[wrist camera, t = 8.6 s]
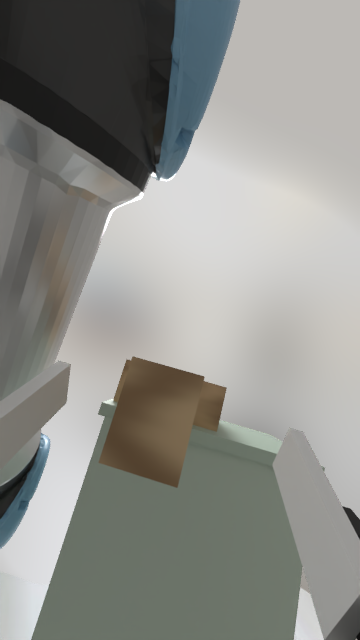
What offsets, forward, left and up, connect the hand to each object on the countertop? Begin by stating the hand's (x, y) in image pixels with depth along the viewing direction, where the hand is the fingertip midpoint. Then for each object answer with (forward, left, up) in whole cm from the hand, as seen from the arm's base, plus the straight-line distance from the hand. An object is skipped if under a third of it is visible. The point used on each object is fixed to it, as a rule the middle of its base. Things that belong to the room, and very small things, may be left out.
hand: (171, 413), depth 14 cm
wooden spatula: (-1, +7, -2) cm, 7 cm away
